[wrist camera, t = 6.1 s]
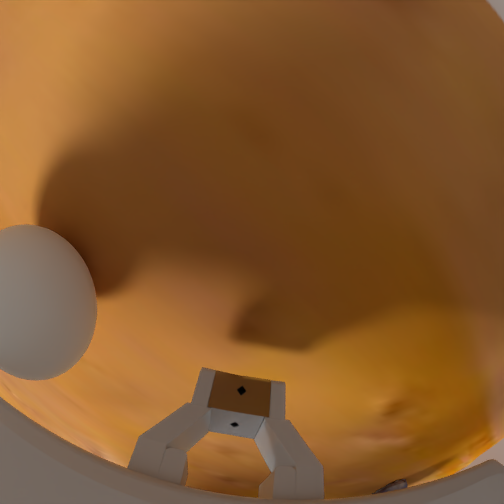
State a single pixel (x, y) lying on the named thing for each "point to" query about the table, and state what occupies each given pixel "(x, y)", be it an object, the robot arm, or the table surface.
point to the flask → (393, 486)
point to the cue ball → (43, 303)
